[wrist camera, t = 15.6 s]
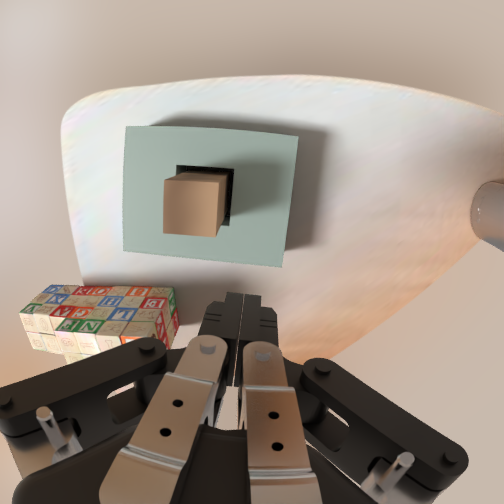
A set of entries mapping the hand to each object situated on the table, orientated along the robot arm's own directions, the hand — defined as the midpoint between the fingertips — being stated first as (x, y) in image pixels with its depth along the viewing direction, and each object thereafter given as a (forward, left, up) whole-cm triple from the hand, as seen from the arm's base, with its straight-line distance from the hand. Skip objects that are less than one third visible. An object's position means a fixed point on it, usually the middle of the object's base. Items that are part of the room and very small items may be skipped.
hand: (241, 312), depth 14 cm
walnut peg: (+5, -2, -24) cm, 25 cm away
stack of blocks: (+19, +16, -25) cm, 35 cm away
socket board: (+5, -2, -24) cm, 25 cm away
